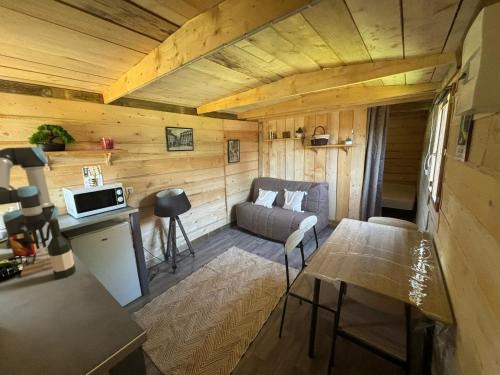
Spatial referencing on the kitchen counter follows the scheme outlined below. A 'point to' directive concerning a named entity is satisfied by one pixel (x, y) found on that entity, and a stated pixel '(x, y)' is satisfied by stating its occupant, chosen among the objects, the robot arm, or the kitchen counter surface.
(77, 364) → the kitchen counter surface
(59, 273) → the wine bottle
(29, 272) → the floorboard
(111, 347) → the kitchen counter surface
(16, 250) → the mug
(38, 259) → the plank
